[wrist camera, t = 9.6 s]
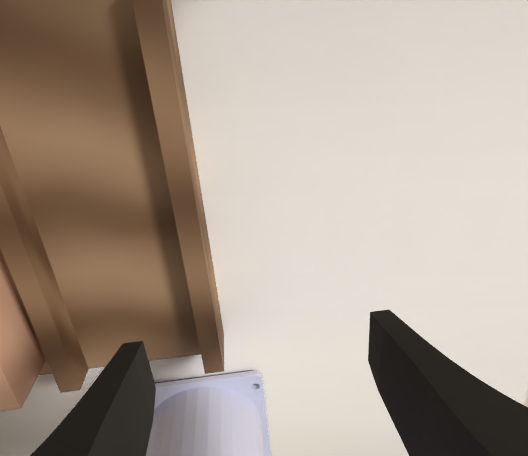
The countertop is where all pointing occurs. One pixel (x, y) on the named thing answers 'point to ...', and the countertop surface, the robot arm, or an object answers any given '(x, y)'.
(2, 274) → the clay strip
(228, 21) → the countertop surface
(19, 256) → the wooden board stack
